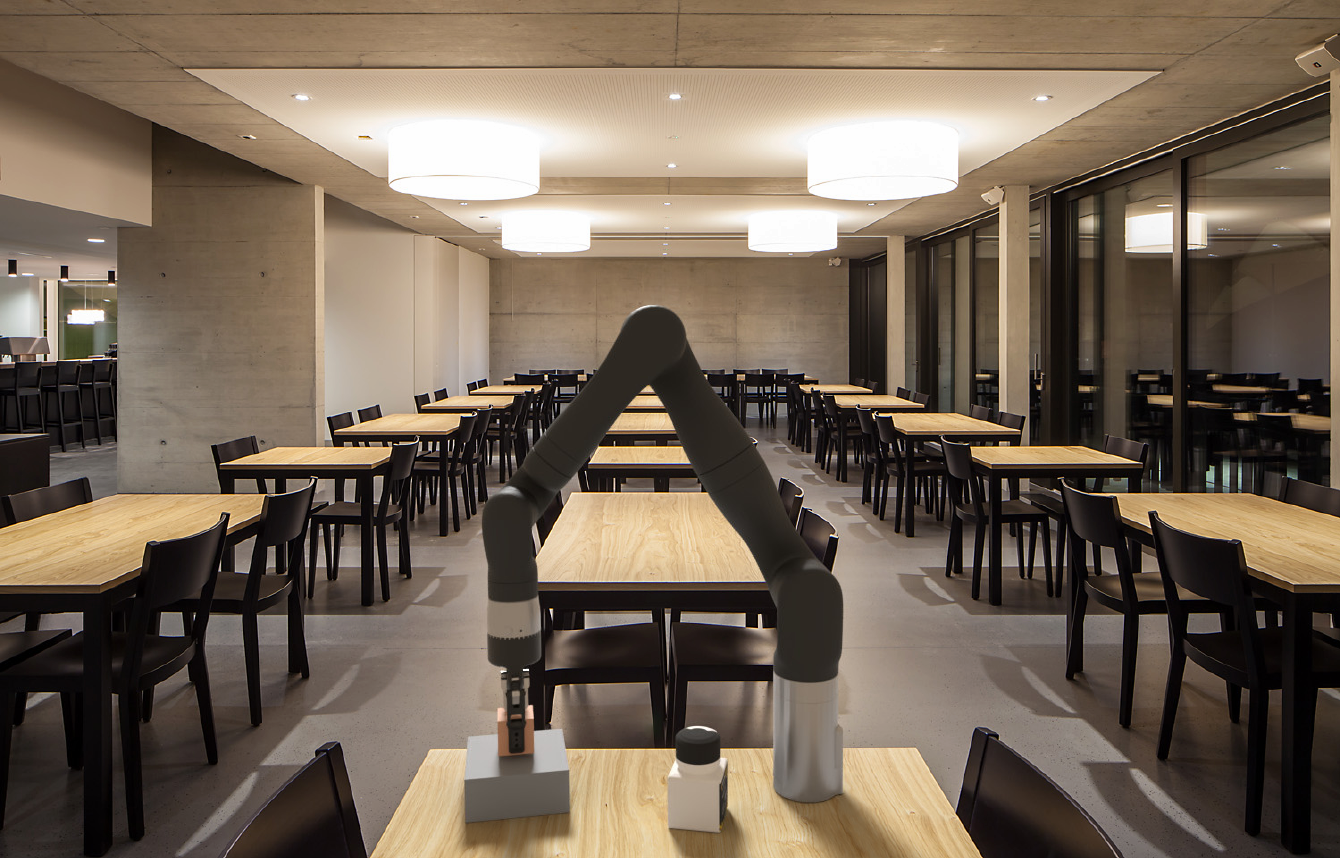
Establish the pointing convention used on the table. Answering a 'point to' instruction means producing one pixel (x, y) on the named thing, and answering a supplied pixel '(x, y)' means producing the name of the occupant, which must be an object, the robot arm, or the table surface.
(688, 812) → the medicine bottle
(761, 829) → the table surface
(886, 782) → the table surface
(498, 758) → the slate pedestal
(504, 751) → the terracotta cube
